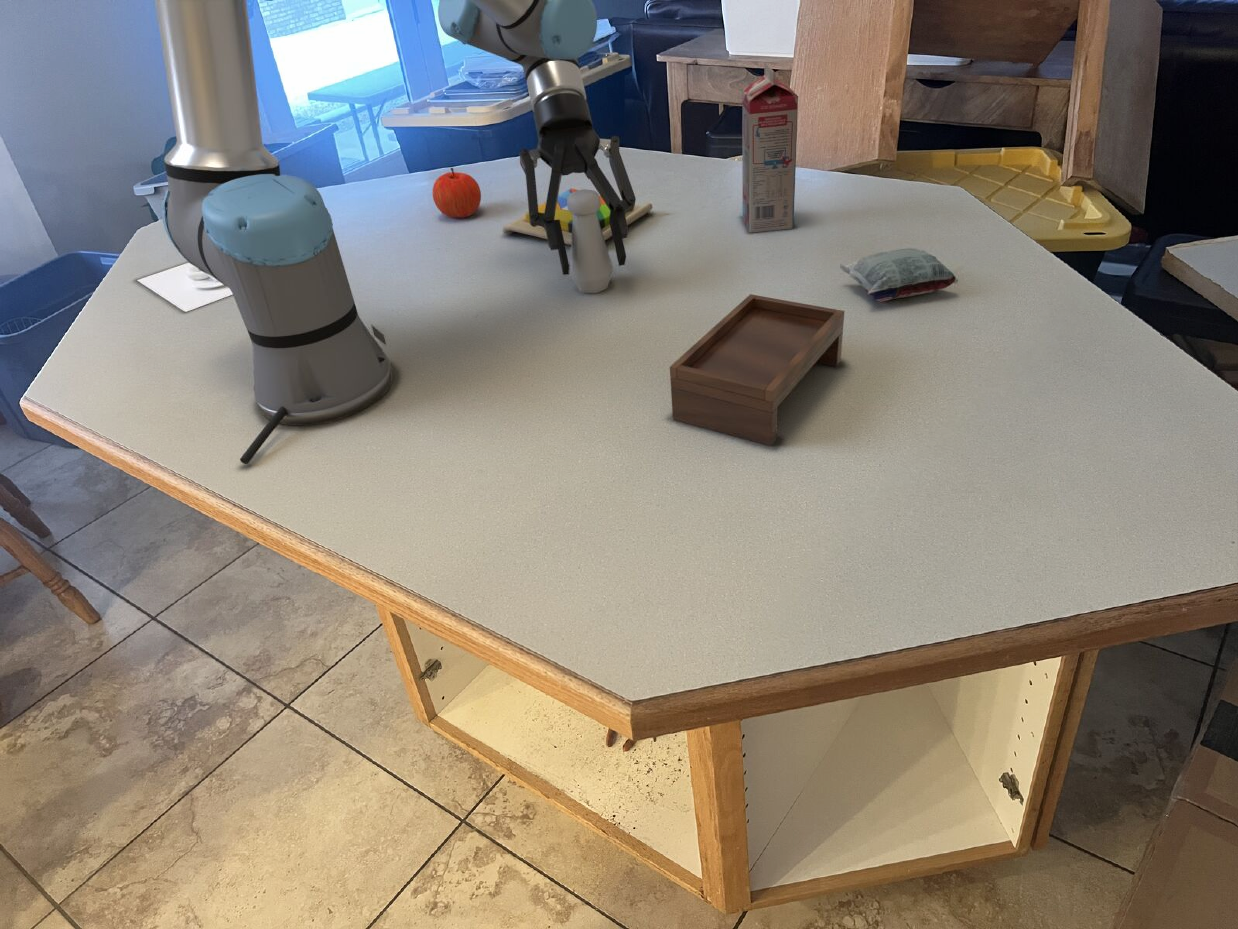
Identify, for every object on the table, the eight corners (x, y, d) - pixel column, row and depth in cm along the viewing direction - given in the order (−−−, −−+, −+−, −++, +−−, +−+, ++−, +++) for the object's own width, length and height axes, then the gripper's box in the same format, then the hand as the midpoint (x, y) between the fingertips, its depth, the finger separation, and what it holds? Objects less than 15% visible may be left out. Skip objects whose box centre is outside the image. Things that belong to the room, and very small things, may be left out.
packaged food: (838, 284, 106) (841, 247, 103) (924, 269, 108) (929, 233, 105) (867, 313, 100) (871, 274, 97) (958, 297, 101) (965, 259, 98)
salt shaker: (609, 296, 110) (599, 199, 102) (568, 296, 111) (555, 200, 103) (617, 278, 114) (609, 184, 107) (578, 278, 116) (566, 185, 108)
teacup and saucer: (182, 281, 128) (171, 256, 126) (231, 264, 132) (221, 240, 130) (204, 295, 123) (194, 269, 120) (254, 276, 127) (245, 251, 124)
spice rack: (771, 446, 79) (772, 391, 75) (672, 419, 84) (669, 366, 81) (840, 362, 91) (844, 310, 87) (749, 342, 96) (750, 293, 92)
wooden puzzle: (598, 252, 123) (596, 229, 120) (499, 237, 131) (496, 216, 129) (656, 212, 134) (654, 191, 132) (561, 201, 143) (559, 181, 141)
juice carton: (749, 232, 124) (750, 74, 111) (742, 217, 129) (742, 64, 116) (793, 228, 123) (799, 69, 111) (784, 213, 129) (789, 60, 116)
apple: (429, 217, 142) (418, 170, 138) (467, 204, 147) (458, 158, 142) (454, 226, 137) (443, 178, 133) (493, 212, 141) (484, 165, 137)
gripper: (628, 113, 116) (663, 265, 112) (489, 133, 113) (520, 289, 110) (634, 79, 108) (671, 241, 105) (485, 100, 106) (518, 266, 102)
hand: (594, 265), depth 107 cm, fingers open, 7 cm apart
